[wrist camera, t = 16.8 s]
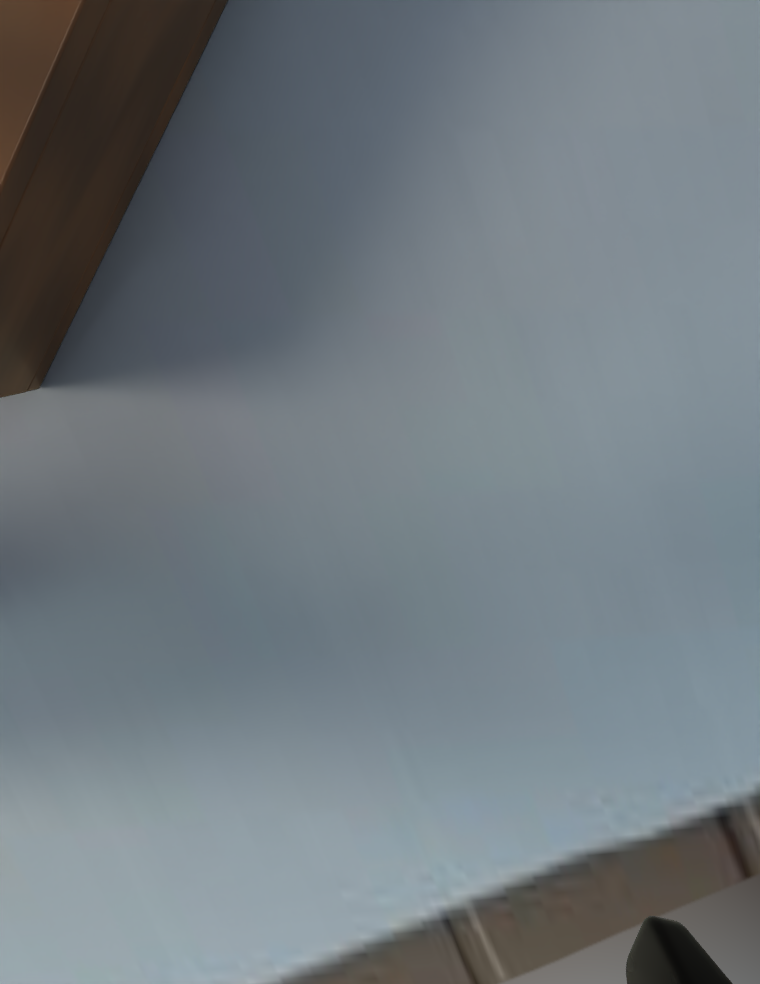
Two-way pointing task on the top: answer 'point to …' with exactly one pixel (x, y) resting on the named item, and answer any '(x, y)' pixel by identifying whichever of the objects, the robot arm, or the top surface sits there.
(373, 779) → the top surface
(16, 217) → the cabinet
